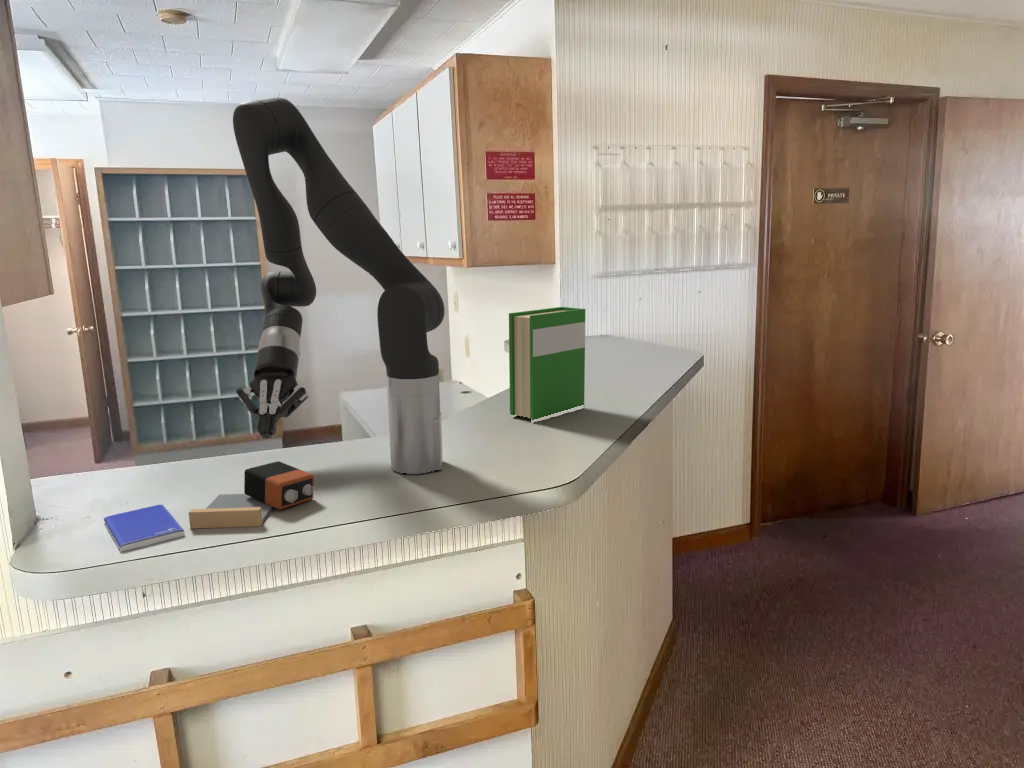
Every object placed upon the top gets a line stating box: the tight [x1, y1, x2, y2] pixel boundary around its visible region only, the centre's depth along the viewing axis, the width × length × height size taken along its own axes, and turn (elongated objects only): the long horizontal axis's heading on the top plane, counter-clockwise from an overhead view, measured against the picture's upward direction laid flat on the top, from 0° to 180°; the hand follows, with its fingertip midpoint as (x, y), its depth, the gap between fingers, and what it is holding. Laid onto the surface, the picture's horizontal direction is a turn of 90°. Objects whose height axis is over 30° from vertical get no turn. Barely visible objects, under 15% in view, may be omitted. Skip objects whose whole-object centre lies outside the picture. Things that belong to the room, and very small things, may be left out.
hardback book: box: [508, 306, 586, 420], centre depth 162 cm, size 18×7×24 cm, turn 135°
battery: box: [243, 460, 315, 510], centre depth 112 cm, size 4×7×10 cm
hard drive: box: [103, 504, 185, 552], centre depth 102 cm, size 2×8×12 cm
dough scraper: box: [188, 493, 274, 529], centre depth 108 cm, size 10×12×2 cm
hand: (266, 436), depth 124 cm, fingers closed
